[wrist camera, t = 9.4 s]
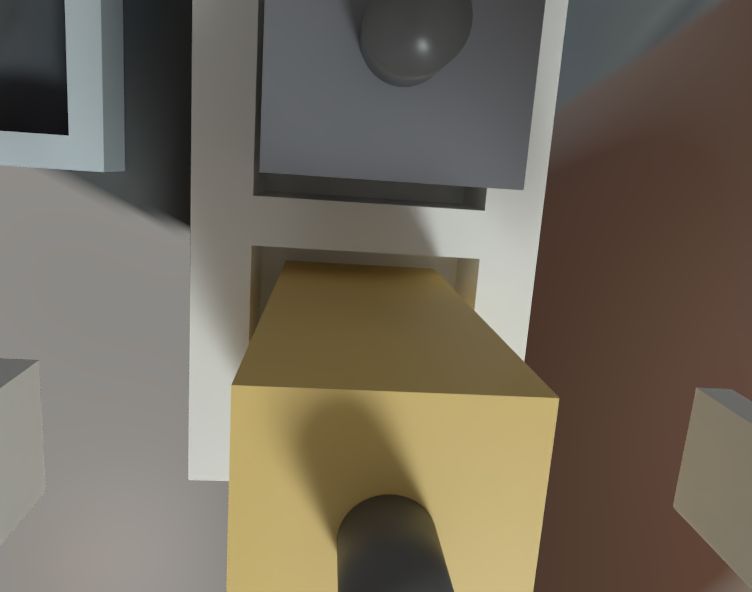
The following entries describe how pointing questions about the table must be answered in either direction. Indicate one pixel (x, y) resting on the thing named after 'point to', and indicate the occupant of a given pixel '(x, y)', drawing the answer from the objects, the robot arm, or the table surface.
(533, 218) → the strip
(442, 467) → the plug
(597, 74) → the table surface
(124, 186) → the table surface
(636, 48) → the table surface
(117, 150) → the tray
